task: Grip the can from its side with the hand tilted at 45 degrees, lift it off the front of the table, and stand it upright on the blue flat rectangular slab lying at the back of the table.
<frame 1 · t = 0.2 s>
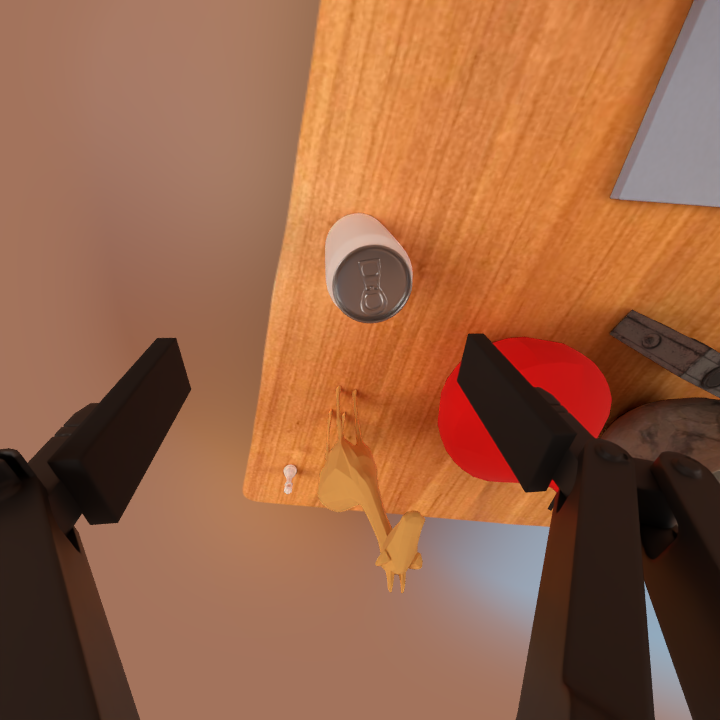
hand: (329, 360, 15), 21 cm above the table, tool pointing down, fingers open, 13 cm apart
can: (357, 246, 33), on the table
chess pawn: (290, 468, 49), on the table
camera: (653, 340, 43), on the table, touching bowl
giraffe: (347, 388, 42), on the table
bowl: (629, 424, 51), on the table, touching camera
vase: (490, 377, 43), on the table
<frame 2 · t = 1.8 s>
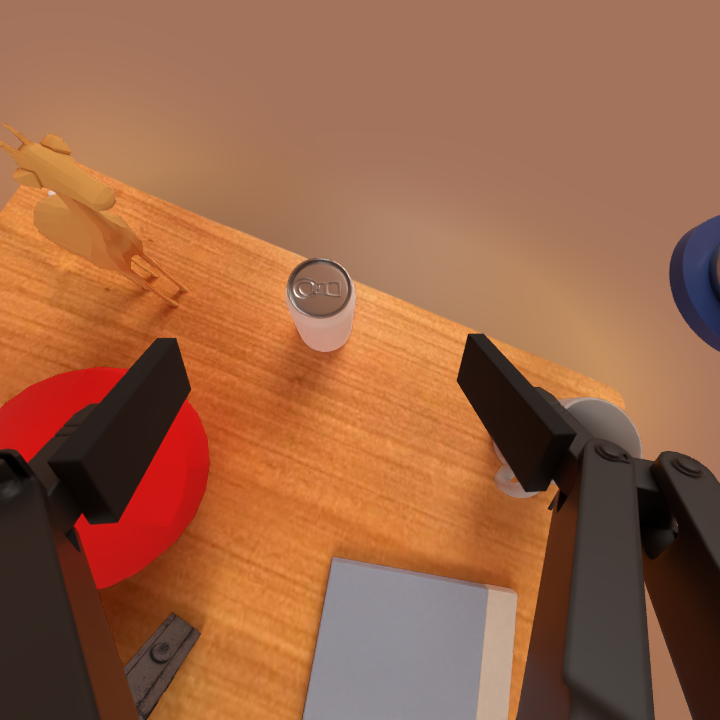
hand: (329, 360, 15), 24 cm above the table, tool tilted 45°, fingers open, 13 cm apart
can: (325, 327, 40), on the table
blue flat rectangular slab: (411, 656, 34), on the table
camera: (141, 691, 32), on the table, touching bowl
mug: (514, 447, 38), on the table
giraffe: (182, 297, 39), on the table
vase: (147, 461, 36), on the table
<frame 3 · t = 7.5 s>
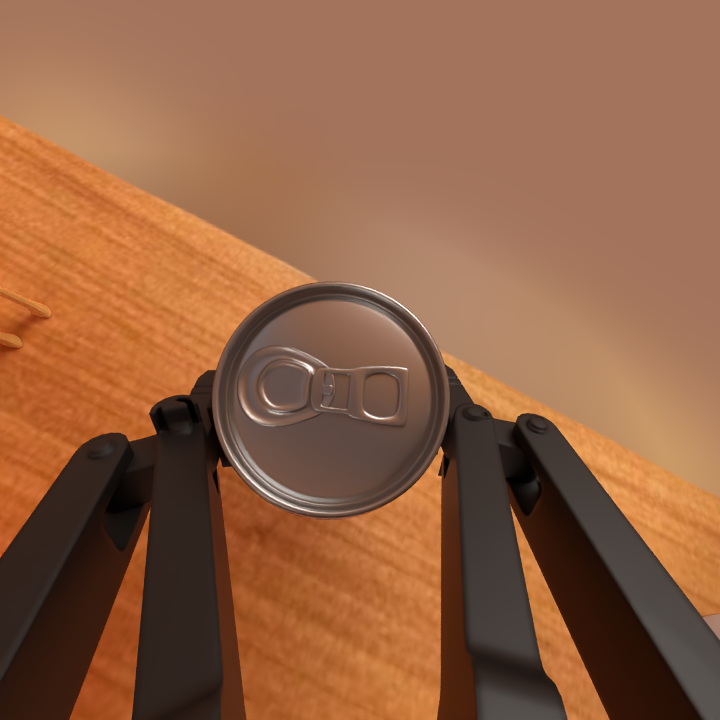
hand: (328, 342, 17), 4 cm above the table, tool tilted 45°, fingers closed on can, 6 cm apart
can: (329, 417, 19), on the table, touching gripper
giraffe: (35, 329, 19), on the table
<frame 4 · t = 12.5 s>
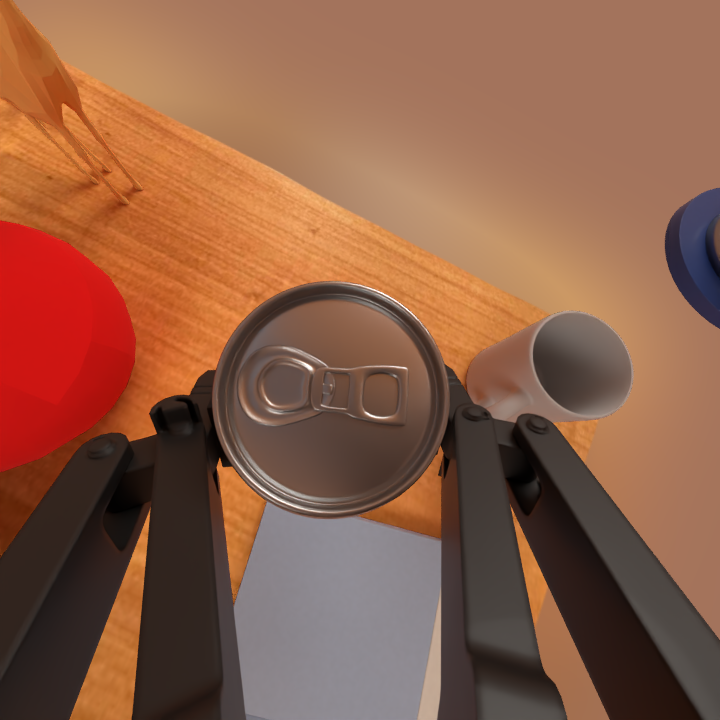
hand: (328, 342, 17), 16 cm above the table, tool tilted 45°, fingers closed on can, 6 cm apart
can: (329, 417, 19), point 13 cm above the table, touching gripper
blue flat rectangular slab: (351, 617, 28), on the table
mug: (490, 393, 34), on the table
giraffe: (134, 196, 35), on the table
vase: (66, 366, 31), on the table
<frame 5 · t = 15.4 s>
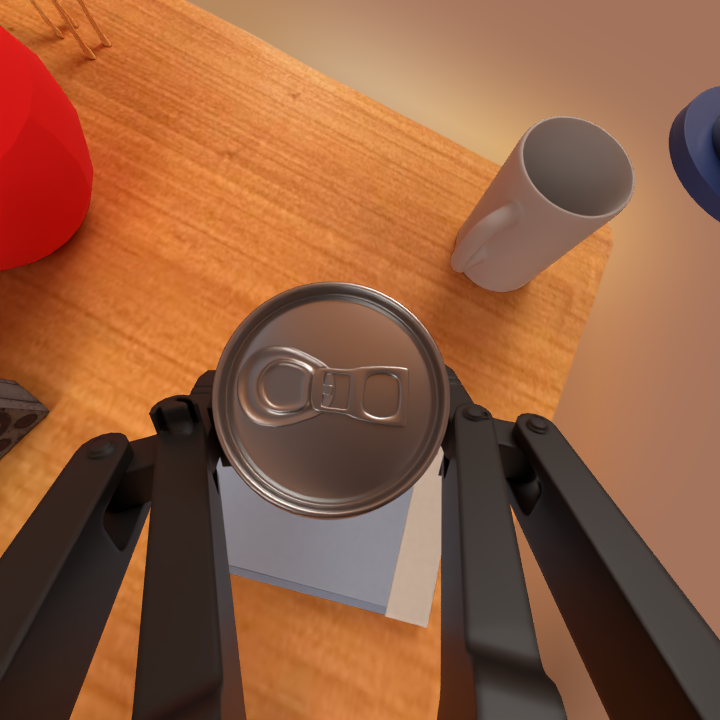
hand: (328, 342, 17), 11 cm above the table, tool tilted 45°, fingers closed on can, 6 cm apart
can: (329, 417, 19), point 8 cm above the table, touching gripper
blue flat rectangular slab: (325, 473, 26), on the table
mug: (480, 262, 32), on the table
giraffe: (102, 53, 33), on the table
vase: (22, 212, 28), on the table
when the fingers open (5 cm above the table, at t = 17.6 s): can stays where it is, resting on blue flat rectangular slab.
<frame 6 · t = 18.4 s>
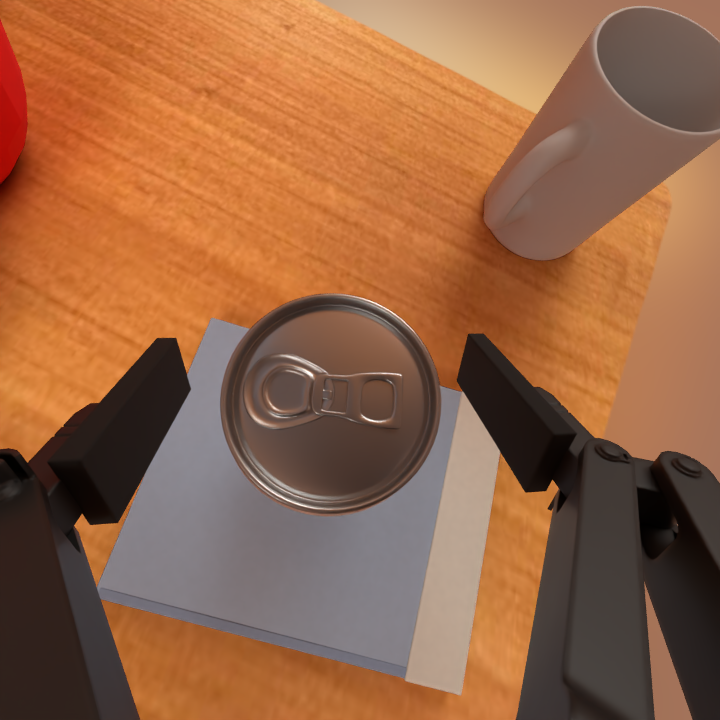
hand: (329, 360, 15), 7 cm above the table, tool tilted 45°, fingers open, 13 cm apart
can: (328, 419, 20), point 1 cm above the table, touching blue flat rectangular slab
blue flat rectangular slab: (325, 486, 20), on the table
mug: (515, 225, 26), on the table
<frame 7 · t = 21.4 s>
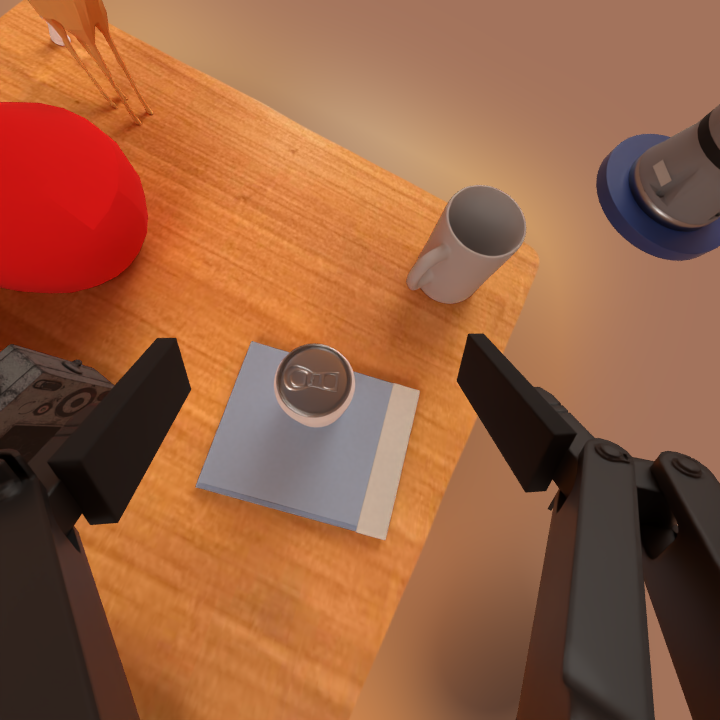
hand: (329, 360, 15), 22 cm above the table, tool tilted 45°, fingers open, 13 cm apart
can: (317, 398, 36), point 1 cm above the table, touching blue flat rectangular slab
blue flat rectangular slab: (315, 435, 36), on the table
chess pawn: (62, 41, 44), on the table
camera: (52, 432, 33), on the table, touching bowl
mug: (435, 281, 42), on the table
giraffe: (146, 119, 43), on the table
vase: (91, 244, 38), on the table
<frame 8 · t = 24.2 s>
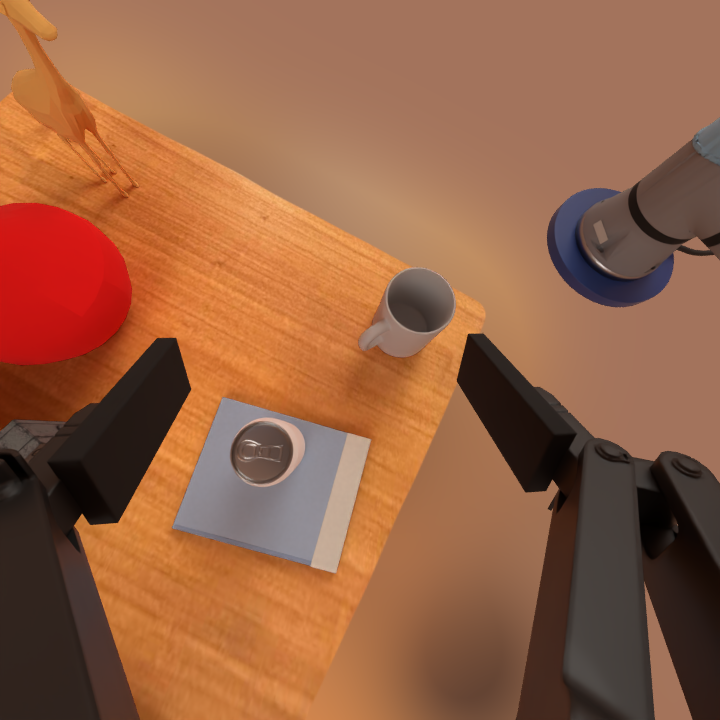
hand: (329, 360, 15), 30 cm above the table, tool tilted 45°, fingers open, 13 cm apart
can: (280, 447, 41), point 1 cm above the table, touching blue flat rectangular slab
blue flat rectangular slab: (278, 480, 41), on the table
camera: (49, 480, 39), on the table, touching bowl
mug: (389, 336, 47), on the table
giraffe: (132, 191, 48), on the table
vase: (83, 309, 44), on the table
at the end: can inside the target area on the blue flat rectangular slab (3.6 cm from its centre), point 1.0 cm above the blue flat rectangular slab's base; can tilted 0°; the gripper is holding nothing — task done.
